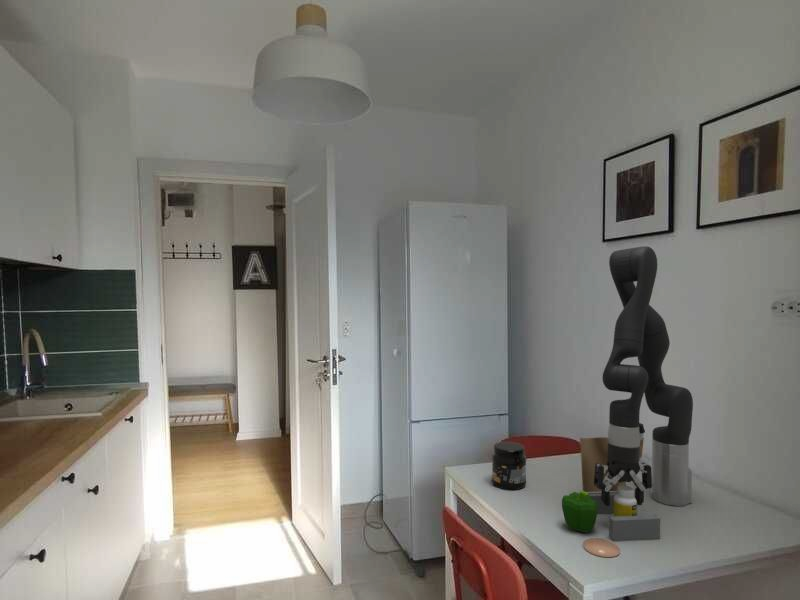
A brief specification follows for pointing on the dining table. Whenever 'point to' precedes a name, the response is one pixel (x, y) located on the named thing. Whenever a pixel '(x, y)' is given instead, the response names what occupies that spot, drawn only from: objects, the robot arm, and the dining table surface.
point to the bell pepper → (579, 511)
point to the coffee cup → (641, 439)
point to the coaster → (601, 547)
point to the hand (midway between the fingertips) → (622, 504)
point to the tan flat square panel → (594, 461)
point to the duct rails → (628, 522)
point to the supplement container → (509, 465)
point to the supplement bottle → (625, 502)
